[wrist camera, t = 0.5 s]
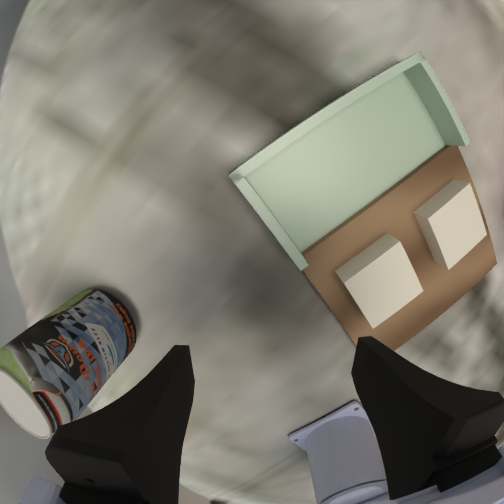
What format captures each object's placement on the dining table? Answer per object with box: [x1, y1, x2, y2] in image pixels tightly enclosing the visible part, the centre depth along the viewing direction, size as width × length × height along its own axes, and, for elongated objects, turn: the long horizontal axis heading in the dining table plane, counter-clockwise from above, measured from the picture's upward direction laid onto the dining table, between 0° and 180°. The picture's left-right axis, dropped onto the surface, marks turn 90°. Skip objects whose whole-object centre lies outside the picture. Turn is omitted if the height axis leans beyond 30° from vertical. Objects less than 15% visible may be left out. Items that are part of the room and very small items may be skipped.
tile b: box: [413, 179, 487, 270], centre depth 18 cm, size 4×4×2 cm
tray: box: [228, 51, 470, 271], centre depth 17 cm, size 7×15×3 cm, turn 127°
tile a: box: [335, 233, 423, 329], centre depth 19 cm, size 4×4×2 cm
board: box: [301, 145, 497, 351], centre depth 21 cm, size 12×15×1 cm
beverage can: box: [0, 289, 136, 439], centre depth 16 cm, size 6×7×12 cm
